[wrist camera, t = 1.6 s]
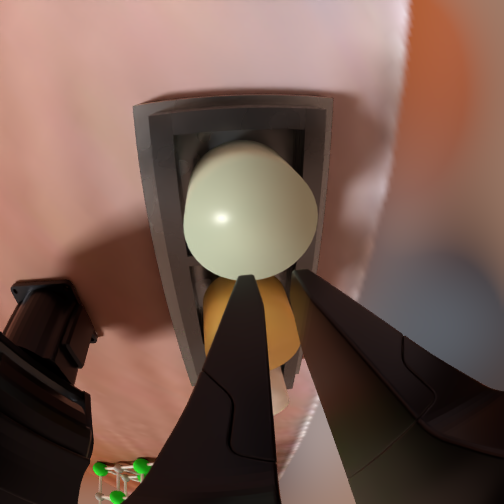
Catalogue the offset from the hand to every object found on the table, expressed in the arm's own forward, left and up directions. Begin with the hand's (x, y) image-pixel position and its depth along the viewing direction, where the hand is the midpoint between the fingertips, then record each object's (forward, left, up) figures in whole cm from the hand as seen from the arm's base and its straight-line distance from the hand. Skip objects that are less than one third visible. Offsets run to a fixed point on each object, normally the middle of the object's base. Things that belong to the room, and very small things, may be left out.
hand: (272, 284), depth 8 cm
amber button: (0, -7, -7) cm, 10 cm away
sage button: (0, 0, -7) cm, 7 cm away
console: (0, -7, -10) cm, 12 cm away
